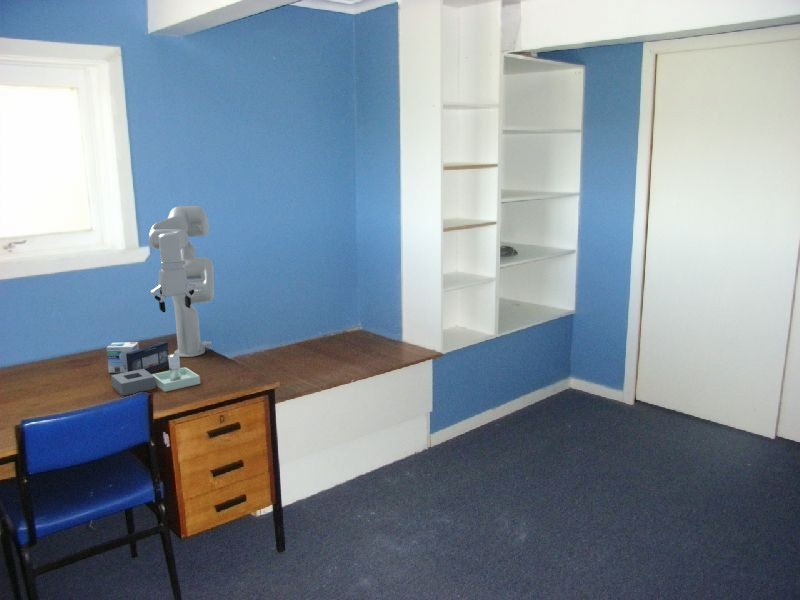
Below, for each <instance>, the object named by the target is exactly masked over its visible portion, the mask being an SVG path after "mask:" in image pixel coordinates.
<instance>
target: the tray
mask: <svg viewBox="0 0 800 600" xmlns="http://www.w3.org/2000/svg"><path fill="white" fill-rule="evenodd" d="M180 370H181V380H176V381H172V382H170V373H169V370H166V371H162V372H156V373H151V374H152V375H153V376H155V385H156V386H157V387H158V388H159V389H160V390H161V391H163V392H168V391H169V392H170V391H173V390H179V389H183V388H186V387H191V386H195V385H200V384H201V376H200V375H199V374H197V373H196V372H194V371H192V370H191V369H189V368H188V367H180Z"/></svg>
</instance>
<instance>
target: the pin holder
mask: <svg viewBox="0 0 800 600" xmlns="http://www.w3.org/2000/svg"><path fill="white" fill-rule="evenodd" d="M152 374H153V373H151V372H150V373H149V372H148V371H146V370H145V369H140V370H135V371H130V372H125V373H116V374H115V373H114V374H111V375H110V377H111V387H112V388H113V387H114V388H115V389H116V391H117V392H118V393H119V394H120V395H121V396H127V395H131V394H136V392H137V393H139V392H138V391H141V392H144V391H149V390H153V389H156V388H157V387H156V385H155V376H153V375H152ZM114 388H113V389H114ZM115 389H114V390H115Z"/></svg>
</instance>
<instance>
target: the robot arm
mask: <svg viewBox="0 0 800 600" xmlns="http://www.w3.org/2000/svg"><path fill="white" fill-rule="evenodd" d="M209 233H210V222H209V219H208V216H207V213H206V211H205V209H204V208H203V207H201V206H200V205H190V206H189V205H186V206H185V205H183V206H182V205H180V206H175V207H173V208H172V209H171V210H170V211H169V213H168V216H167V218H165V219H163V220H161V221H159V222H156V223H154V224H153V225H152V227H151V229H150V230H149V235H148V243H149V245H150V248H152V249H154V250H159V255H160V266H161V269H159V271H158V284H157V285H158V286H156V287H155V288H153V289H152V290H151V291H150V294H151V296H152V297H153V298H154V299H155V300H157V301H158V306H159V310H160V311H161V312H162V313H166V311H167V309H166V302H165V299H166V297H167V298H168V297H171V298H172V303H173V310H174V318H175V329H176V331H175V332H176V342H177V349H176V350H174V353H173V354H179V358H191V357H197V356H200V355H203V354H205V352H206V350H205V348H206V347H211V346H212V345H213V344H212V341H206V340H204V341H201V330H200V317H199V312H198V310H197V308H196V307H195V306H194V305H193V304H207V303H212V301H213V300H214V298H215V281H214V280H215V274H214V273H215V272H214V271H215V270H214V264H213V261H212V260H211V259H210V258H208V257H196V255H197V254H196V251H197V250H196V248H195V246H194V244H193V243H191V241H189V240H190V239H189V238H198V237H201V238H202V237H206V236H208V235H209ZM158 294H159V296H158Z"/></svg>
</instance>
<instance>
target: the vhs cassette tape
mask: <svg viewBox="0 0 800 600" xmlns="http://www.w3.org/2000/svg"><path fill="white" fill-rule="evenodd" d="M168 355H170V353H169V344H168V342H166V341H163V342H159V343H156V344H151V345H149V346H147V347H142V348H139V350H136V351H133V352H130V353H126V358H127V369H128V372H130V371H135V370H140V369H145V370H146V371H148V372H149V373H150V374H151V373H152V371H153V372H155V370H156V371H157V369H158V370H161V369H164V368H167V367H169V361H168ZM166 366H167V367H166ZM163 367H164V368H163ZM160 368H161V369H160Z"/></svg>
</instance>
